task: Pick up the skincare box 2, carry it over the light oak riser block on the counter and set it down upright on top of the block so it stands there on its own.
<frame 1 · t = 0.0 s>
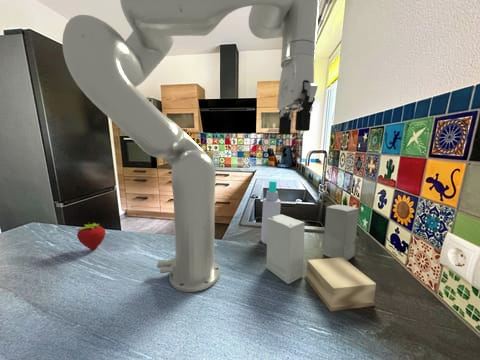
hand: (292, 132, 47), 37 cm above the countertop, tool pointing down, fingers open, 9 cm apart
spray bottle: (269, 242, 67), on the countertop
skincare box 2: (282, 273, 50), on the countertop
riser block: (336, 290, 44), on the countertop
skincare box: (337, 255, 60), on the countertop
strawberry: (93, 250, 58), on the countertop
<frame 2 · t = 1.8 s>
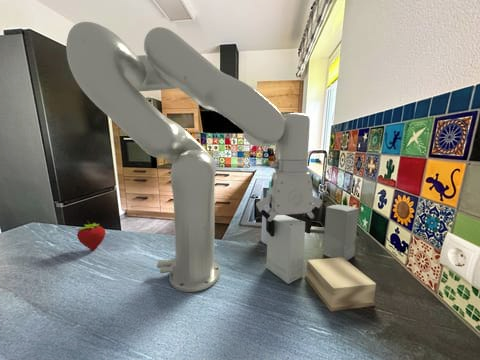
hand: (288, 232, 48), 11 cm above the countertop, tool pointing down, fingers open, 9 cm apart
nothing on the countertop moved.
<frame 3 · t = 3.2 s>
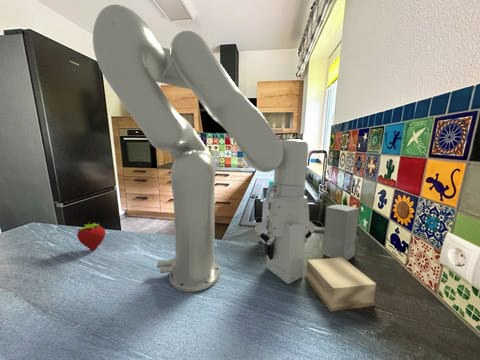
hand: (284, 255, 49), 5 cm above the countertop, tool pointing down, fingers closed on skincare box 2, 7 cm apart
skincare box 2: (282, 272, 50), on the countertop, touching gripper
everything else where it was.
when the fingers open (10 cm above the countertop, at t = 8.0 s): skincare box 2 stays where it is, resting on riser block.
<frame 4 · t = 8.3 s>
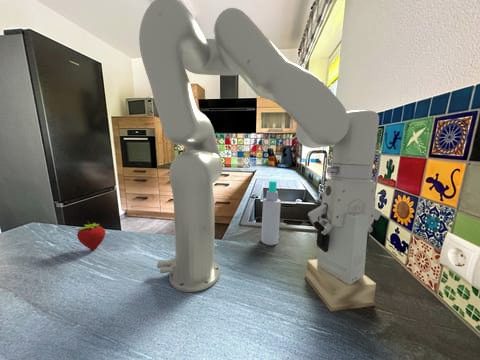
hand: (341, 247, 42), 11 cm above the countertop, tool pointing down, fingers open, 9 cm apart
skincare box 2: (337, 271, 43), point 5 cm above the countertop, touching riser block
everything else where it was.
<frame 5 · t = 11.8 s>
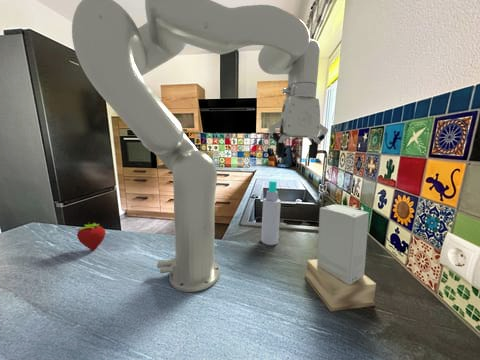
hand: (296, 158, 53), 30 cm above the countertop, tool pointing down, fingers open, 9 cm apart
nothing on the countertop moved.
at the end: skincare box 2 inside the target area on the riser block (0.3 cm from its centre), point 4.8 cm above the riser block's base; skincare box 2 tilted 0°; the gripper is holding nothing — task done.
